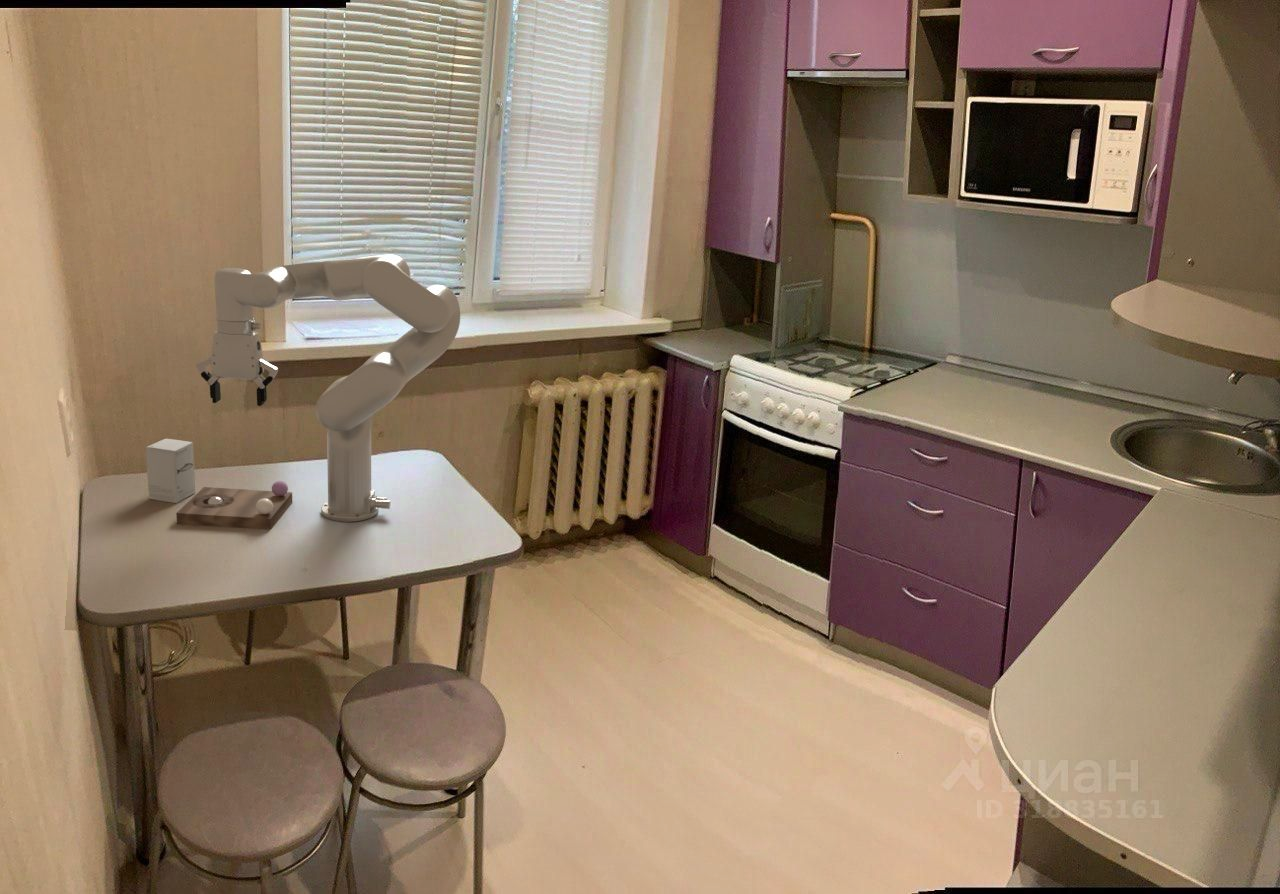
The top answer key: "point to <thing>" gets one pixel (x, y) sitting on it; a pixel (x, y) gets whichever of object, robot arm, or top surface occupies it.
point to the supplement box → (170, 470)
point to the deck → (233, 508)
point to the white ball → (264, 506)
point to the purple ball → (279, 488)
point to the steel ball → (214, 500)
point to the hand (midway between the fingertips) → (238, 402)
